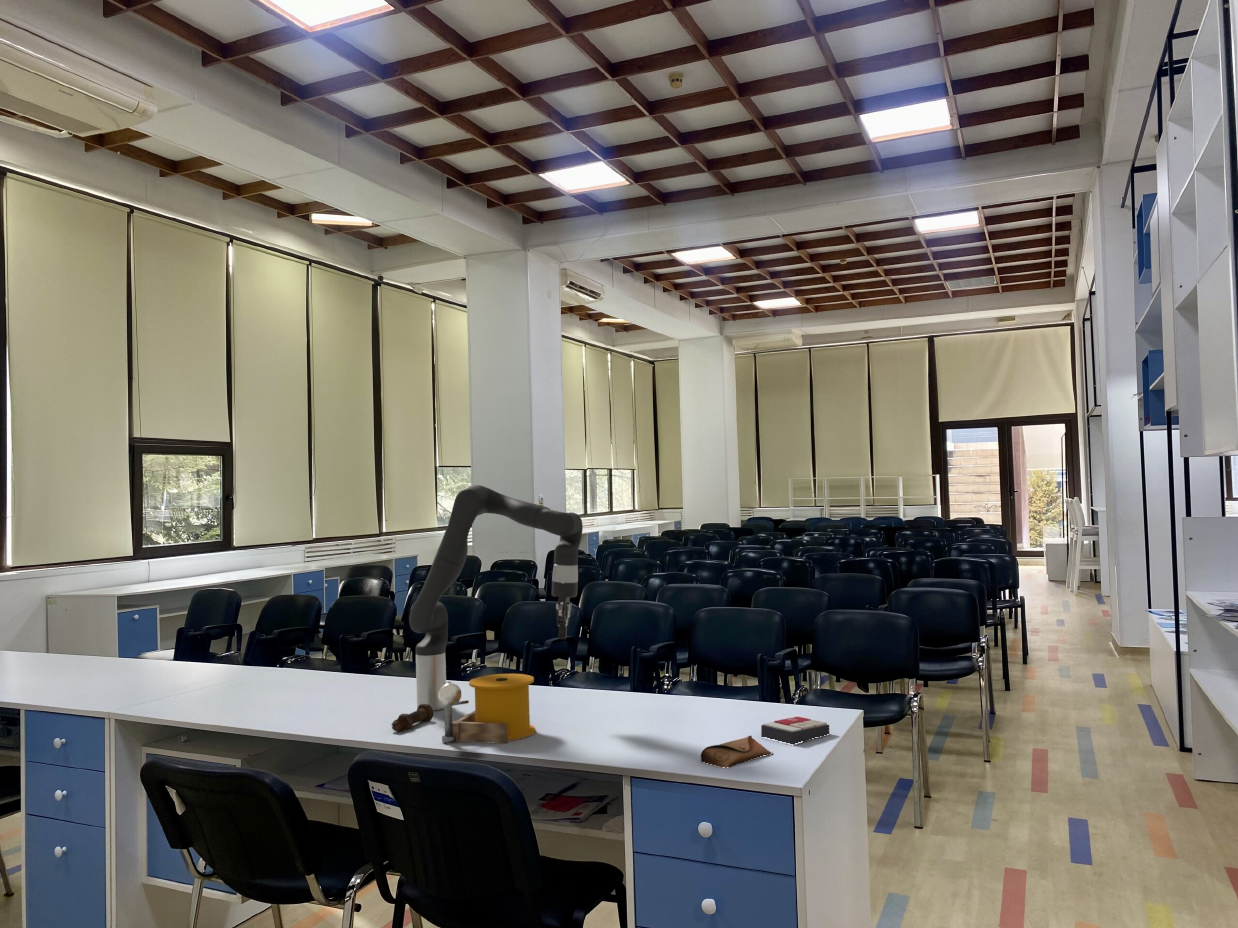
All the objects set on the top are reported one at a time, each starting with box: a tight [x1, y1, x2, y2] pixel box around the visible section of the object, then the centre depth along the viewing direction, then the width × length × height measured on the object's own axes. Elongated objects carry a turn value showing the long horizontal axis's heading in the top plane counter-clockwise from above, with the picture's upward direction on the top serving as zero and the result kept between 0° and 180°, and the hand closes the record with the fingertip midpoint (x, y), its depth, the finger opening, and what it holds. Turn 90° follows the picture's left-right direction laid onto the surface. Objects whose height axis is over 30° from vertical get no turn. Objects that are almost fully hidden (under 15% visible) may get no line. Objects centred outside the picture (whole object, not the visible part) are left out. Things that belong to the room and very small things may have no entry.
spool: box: [468, 673, 536, 741], centre depth 249 cm, size 18×18×15 cm
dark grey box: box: [760, 716, 830, 744], centre depth 236 cm, size 11×4×15 cm
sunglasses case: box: [700, 735, 773, 769], centre depth 218 cm, size 18×7×7 cm
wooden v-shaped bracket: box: [452, 710, 509, 744], centre depth 245 cm, size 12×22×5 cm, turn 30°
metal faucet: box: [438, 681, 470, 744], centre depth 242 cm, size 9×4×16 cm, turn 120°
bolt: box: [391, 704, 435, 732], centre depth 260 cm, size 6×5×15 cm
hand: (562, 638), depth 263 cm, fingers closed
